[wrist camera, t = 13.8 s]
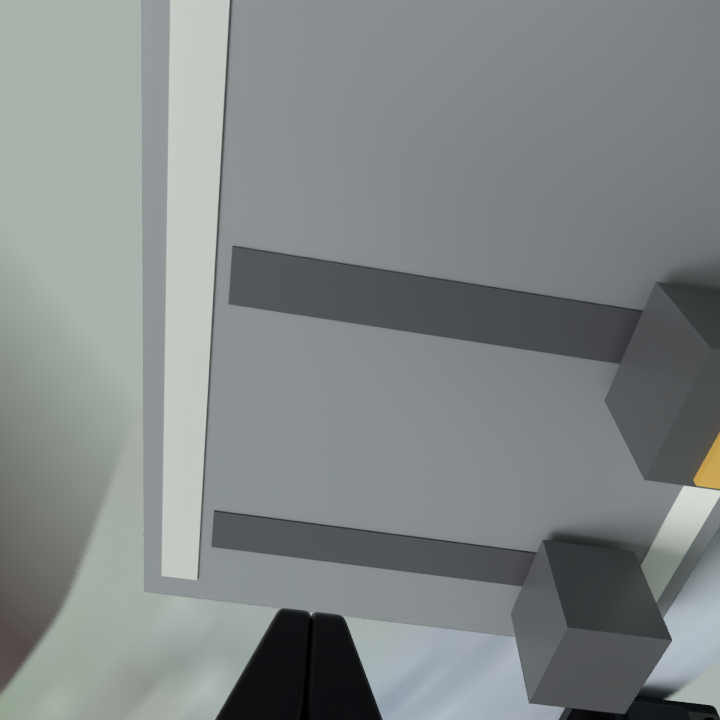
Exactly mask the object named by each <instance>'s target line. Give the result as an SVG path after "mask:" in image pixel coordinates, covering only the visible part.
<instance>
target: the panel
mask: <svg viewBox="0 0 720 720" xmlns="http://www.w3.org/2000/svg"><path fill="white" fill-rule="evenodd" d="M141 3H142V4H141V5H142V6H141V9H142V10H141V11H142V217H143V219H142V221H143V223H142V225H143V440H144V592H149V593H158V594H166V595H174V596H182V597H190V598H199V599H207V600H215V601H223V602H232V603H240V604H248V605H256V606H264V607H273V608H281V609H282V608H289V609H297V610H305V611H308V612H314V613H315V612H322V613H330V614H338V615H341V616H347V617H355V618H363V619H371V620H380V621H388V622H396V623H404V624H412V625H421V626H429V627H437V628H445V629H454V630H462V631H470V632H478V633H486V634H495V635H503V636H511V637H516V642H517V647H518V652H519V657H520V662H521V667H522V671H523V676H524V681H525V686H526V691H527V696H528V701H529V703H532V704H540V705H549V706H558V707H567V708H575V709H584V710H593V711H601V712H610V713H619V714H625V713H626V711H627V710H628V708H629V707H630V705H631V704H632V702H633V700H634V699H635V697H636V696H637V694H638V693H639V691H640V690H641V688H642V686H643V685H644V683H645V682H646V680H647V679H648V677H649V676H650V674H651V673H652V671H653V669H654V668H655V666H656V665H657V663H658V662H659V660H660V659H661V657H662V655H663V654H664V652H665V651H666V649H667V648H668V646H669V645H670V643H671V641H672V639H671V636H670V634H669V632H668V629H667V627H666V625H665V622H664V620H663V618H664V616H665V615H666V613H667V611H668V610H669V608H670V607H671V605H672V603H673V602H674V600H675V598H676V597H677V595H678V594H679V592H680V590H681V589H682V587H683V585H684V584H685V582H686V581H687V579H688V577H689V576H690V574H691V572H692V571H693V569H694V568H695V566H696V564H697V563H698V561H699V560H700V558H701V556H702V555H703V553H704V551H705V550H706V548H707V547H708V545H709V543H710V542H711V540H712V538H713V537H714V535H715V534H716V532H717V530H718V529H719V527H720V491H719V490H712V489H705V488H697V487H690V486H683V485H676V484H669V483H662V482H655V481H648V480H644V478H643V476H642V474H641V472H640V470H639V468H638V467H637V465H636V463H635V461H634V459H633V457H632V455H631V453H630V451H629V449H628V447H627V445H626V443H625V441H624V439H623V437H622V435H621V433H620V431H619V429H618V427H617V425H616V423H615V421H614V419H613V417H612V415H611V413H610V411H609V409H608V407H607V405H606V403H605V401H604V400H605V398H606V395H607V393H608V391H609V388H610V386H611V384H612V382H613V379H614V377H615V375H616V372H617V370H618V368H619V365H620V363H621V361H622V358H623V356H624V354H625V352H626V349H627V347H628V345H629V342H630V340H631V338H632V335H633V333H634V331H635V329H636V326H637V324H638V322H639V319H640V317H641V315H642V312H643V310H644V308H645V305H646V303H647V301H648V299H649V296H650V294H651V292H652V289H653V287H654V285H655V282H661V283H668V284H674V285H680V286H686V287H692V288H698V289H705V290H711V291H717V292H720V0H141Z"/></svg>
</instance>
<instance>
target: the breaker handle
mask: <svg viewBox="0 0 720 720" xmlns="http://www.w3.org/2000/svg"><path fill="white" fill-rule="evenodd" d="M604 401H605V403H606V405H607V407H608V409H609V411H610V413H611V415H612V417H613V419H614V421H615V423H616V425H617V427H618V429H619V431H620V433H621V435H622V437H623V439H624V441H625V443H626V445H627V447H628V449H629V451H630V453H631V455H632V457H633V459H634V461H635V463H636V465H637V467H638V468H639V470H640V472H641V474H642V476H643V478H644V480H648V481H655V482H662V483H669V484H676V485H683V486H690V487H697V488H705V489H712V490H719V491H720V292H717V291H711V290H705V289H698V288H692V287H686V286H680V285H674V284H668V283H661V282H655V285H654V287H653V289H652V292H651V294H650V296H649V299H648V301H647V303H646V305H645V308H644V310H643V312H642V315H641V317H640V319H639V322H638V324H637V326H636V329H635V331H634V333H633V335H632V338H631V340H630V342H629V345H628V347H627V349H626V352H625V354H624V356H623V358H622V361H621V363H620V365H619V368H618V370H617V372H616V375H615V377H614V379H613V382H612V384H611V386H610V388H609V391H608V393H607V395H606V398H605V400H604Z"/></svg>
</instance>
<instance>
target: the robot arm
mask: <svg viewBox="0 0 720 720" xmlns="http://www.w3.org/2000/svg"><path fill="white" fill-rule="evenodd" d="M215 720H382V717H381V714H380V712H379V709H378V706H377V704H376V701H375V698H374V696H373V693H372V690H371V687H370V685H369V682H368V679H367V677H366V674H365V671H364V669H363V666H362V663H361V661H360V658H359V655H358V653H357V650H356V647H355V645H354V642H353V639H352V637H351V634H350V631H349V628H348V626H347V623H346V621H345V619H344V618H343V617H342V616H341V615H338V614H330V613H322V612H315V613H313V614H312V616H311V615H310V613H309V612H308V611H305V610H297V609H289V608H282V609H280V610H279V611H278V612H277V613H276V615H275V617H274V619H273V620H272V622H271V624H270V625H269V627H268V629H267V631H266V632H265V634H264V636H263V638H262V639H261V641H260V643H259V645H258V646H257V648H256V650H255V651H254V653H253V655H252V657H251V658H250V660H249V662H248V664H247V665H246V667H245V669H244V671H243V672H242V674H241V676H240V677H239V679H238V681H237V683H236V684H235V686H234V688H233V690H232V691H231V693H230V695H229V697H228V698H227V700H226V702H225V703H224V705H223V707H222V709H221V710H220V712H219V714H218V716H217V717H216V719H215ZM559 720H720V717H719V715H718V713H717V710H716V708H715V707H713V706H710V705H703V704H695V703H686V702H677V701H669V700H660V699H652V698H643V697H635V699H634V700H633V702H632V704H631V705H630V707H629V708H628V710H627V711H626V713H625V714H619V713H610V712H601V711H593V710H584V709H575V708H567V707H566V708H565V710H564V712H563V713H562V715H561V717H560V719H559Z"/></svg>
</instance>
